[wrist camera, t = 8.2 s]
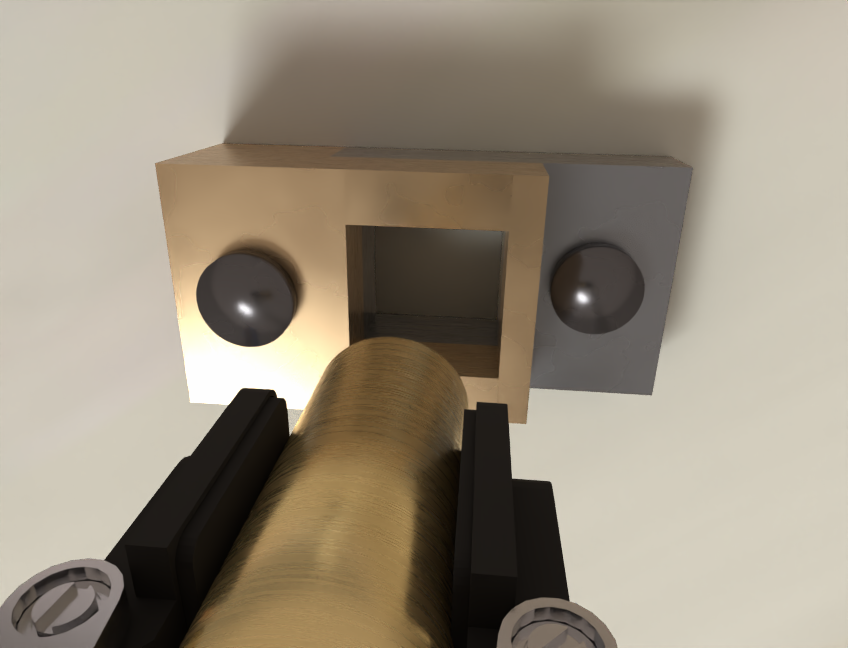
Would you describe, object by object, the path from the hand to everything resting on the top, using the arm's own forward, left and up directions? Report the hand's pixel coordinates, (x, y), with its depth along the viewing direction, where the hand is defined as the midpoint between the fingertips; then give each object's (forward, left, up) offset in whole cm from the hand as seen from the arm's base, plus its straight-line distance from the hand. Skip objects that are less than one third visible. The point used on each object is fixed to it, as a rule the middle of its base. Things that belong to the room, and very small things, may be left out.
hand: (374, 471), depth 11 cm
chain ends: (0, 0, -14) cm, 14 cm away
